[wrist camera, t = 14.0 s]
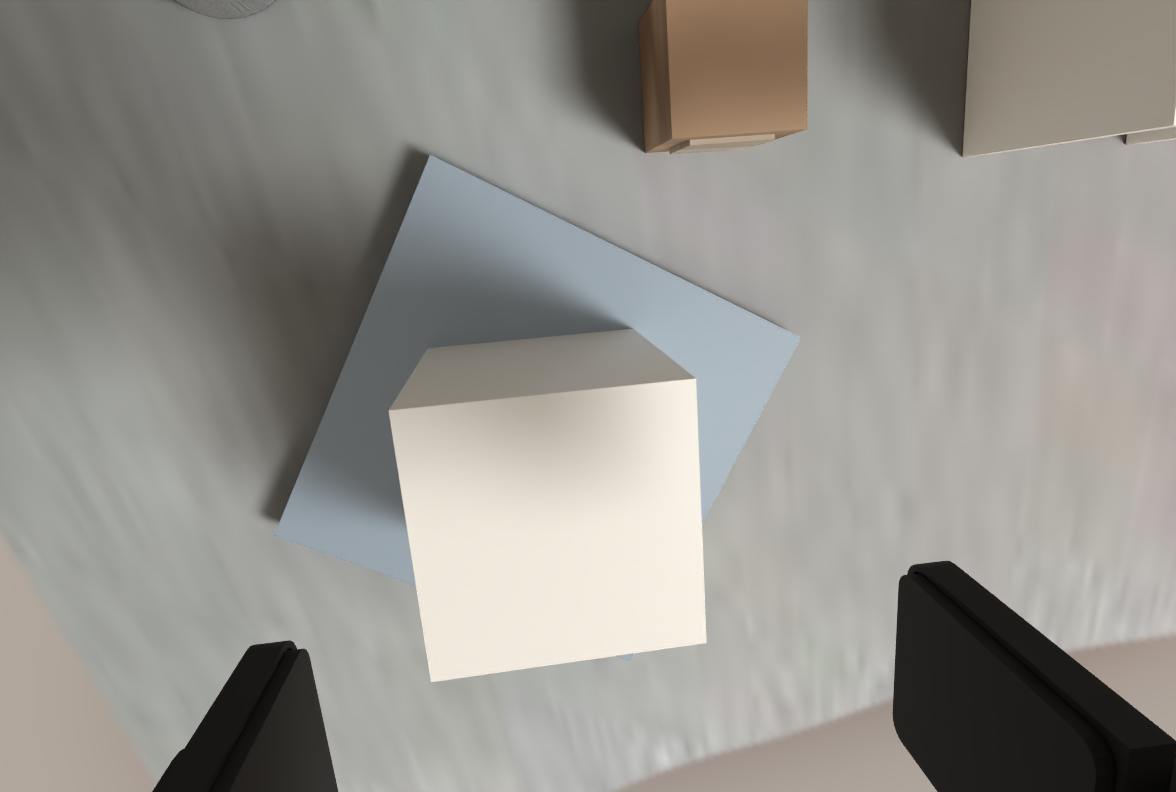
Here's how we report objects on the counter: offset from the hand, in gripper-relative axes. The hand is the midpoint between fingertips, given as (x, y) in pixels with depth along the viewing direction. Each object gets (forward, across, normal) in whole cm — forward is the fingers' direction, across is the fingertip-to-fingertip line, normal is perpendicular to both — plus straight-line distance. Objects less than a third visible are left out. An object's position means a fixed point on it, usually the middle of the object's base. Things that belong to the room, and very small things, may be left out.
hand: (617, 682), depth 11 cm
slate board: (+15, +1, 0) cm, 15 cm away
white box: (+14, +1, 0) cm, 14 cm away
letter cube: (+15, -6, -11) cm, 20 cm away
